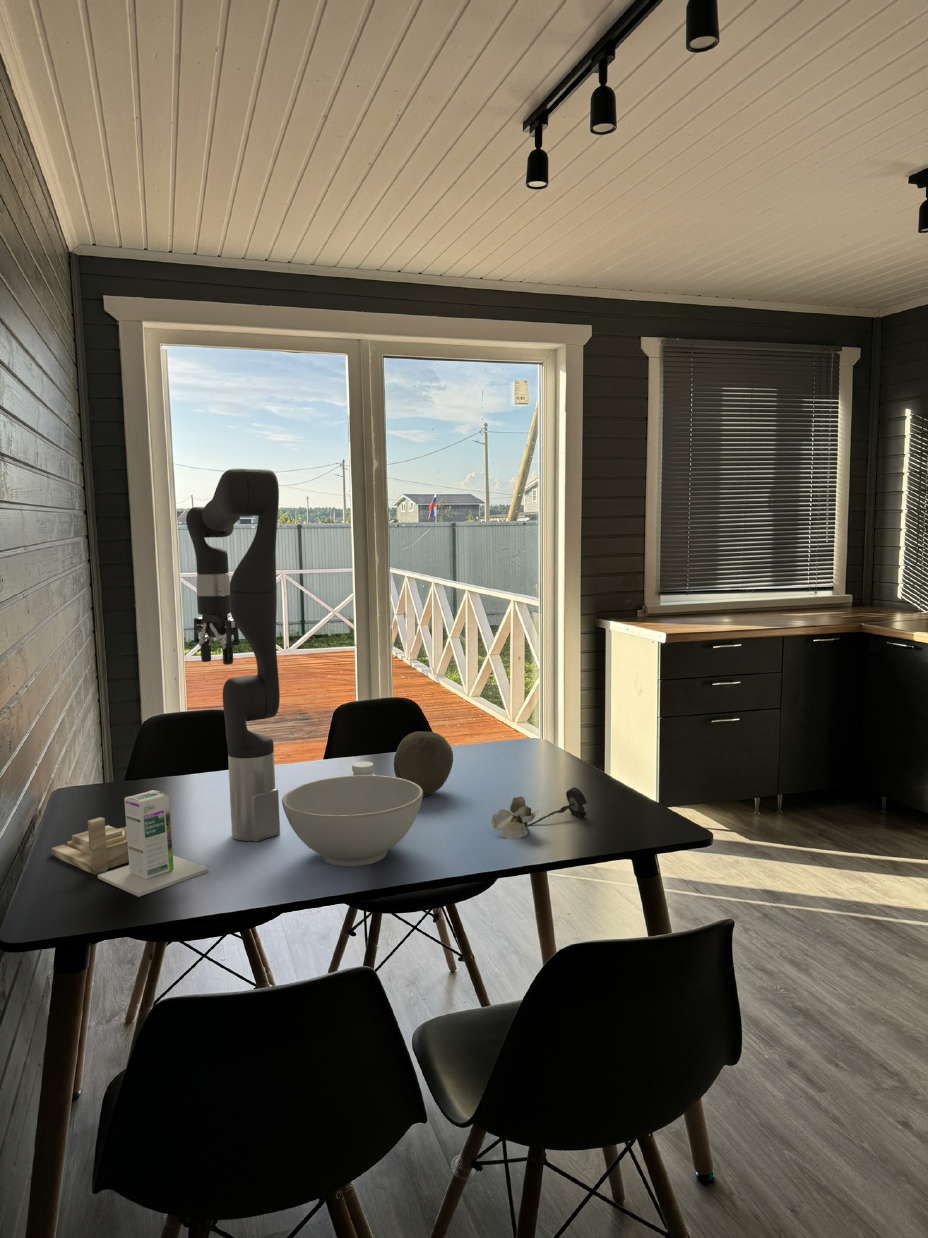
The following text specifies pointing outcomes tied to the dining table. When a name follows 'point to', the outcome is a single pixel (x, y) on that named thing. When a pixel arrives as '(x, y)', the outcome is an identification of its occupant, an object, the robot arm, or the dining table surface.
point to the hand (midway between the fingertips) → (217, 663)
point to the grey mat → (142, 886)
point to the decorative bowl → (353, 816)
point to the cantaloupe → (424, 760)
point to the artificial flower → (532, 814)
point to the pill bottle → (362, 768)
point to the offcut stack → (77, 840)
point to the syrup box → (149, 834)
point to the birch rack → (95, 850)
